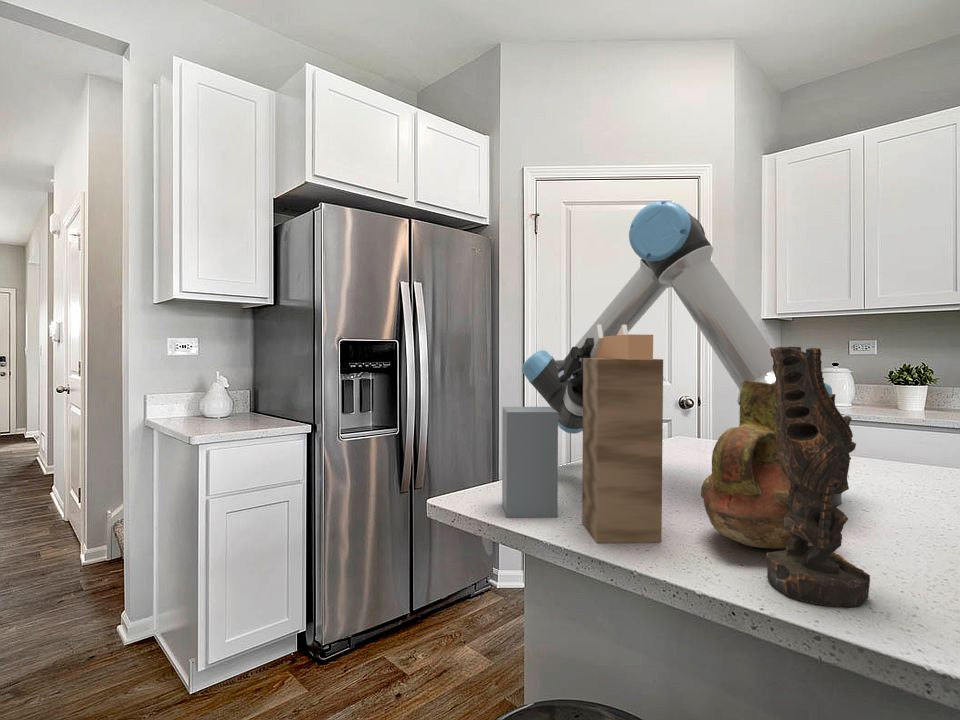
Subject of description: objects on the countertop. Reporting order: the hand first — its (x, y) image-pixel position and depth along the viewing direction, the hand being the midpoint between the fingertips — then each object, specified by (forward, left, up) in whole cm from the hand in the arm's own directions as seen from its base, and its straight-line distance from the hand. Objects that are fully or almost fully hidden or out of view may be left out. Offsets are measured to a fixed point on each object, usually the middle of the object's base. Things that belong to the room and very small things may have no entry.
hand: (612, 331), depth 96 cm
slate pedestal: (+15, -4, -33) cm, 36 cm away
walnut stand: (-1, +5, -33) cm, 33 cm away
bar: (-1, +2, -5) cm, 5 cm away
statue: (-24, +22, -33) cm, 46 cm away
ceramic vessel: (-23, +5, -33) cm, 40 cm away
